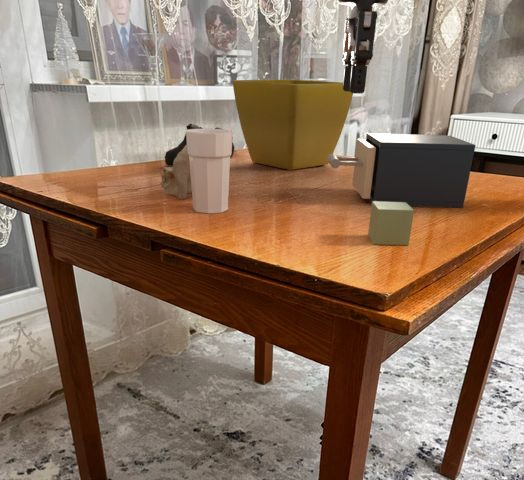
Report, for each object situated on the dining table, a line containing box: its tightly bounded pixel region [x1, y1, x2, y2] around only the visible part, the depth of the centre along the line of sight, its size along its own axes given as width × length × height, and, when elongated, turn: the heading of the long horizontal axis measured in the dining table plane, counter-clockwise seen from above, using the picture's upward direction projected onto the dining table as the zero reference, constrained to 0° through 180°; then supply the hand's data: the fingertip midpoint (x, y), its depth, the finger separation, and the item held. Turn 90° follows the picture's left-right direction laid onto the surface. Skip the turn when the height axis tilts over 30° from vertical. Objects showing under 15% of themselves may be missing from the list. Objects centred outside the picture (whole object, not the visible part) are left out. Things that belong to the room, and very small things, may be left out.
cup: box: [185, 128, 233, 214], centre depth 79 cm, size 7×7×11 cm
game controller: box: [164, 123, 236, 167], centre depth 112 cm, size 16×7×10 cm, turn 43°
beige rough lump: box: [160, 144, 192, 200], centre depth 88 cm, size 9×6×10 cm
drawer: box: [327, 138, 379, 200], centre depth 90 cm, size 19×11×8 cm, turn 90°
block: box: [367, 201, 415, 246], centre depth 68 cm, size 4×4×4 cm
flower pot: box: [232, 79, 354, 171], centre depth 118 cm, size 19×19×17 cm
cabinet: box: [365, 132, 476, 209], centre depth 90 cm, size 15×13×10 cm
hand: (352, 92), depth 85 cm, fingers open, 7 cm apart
